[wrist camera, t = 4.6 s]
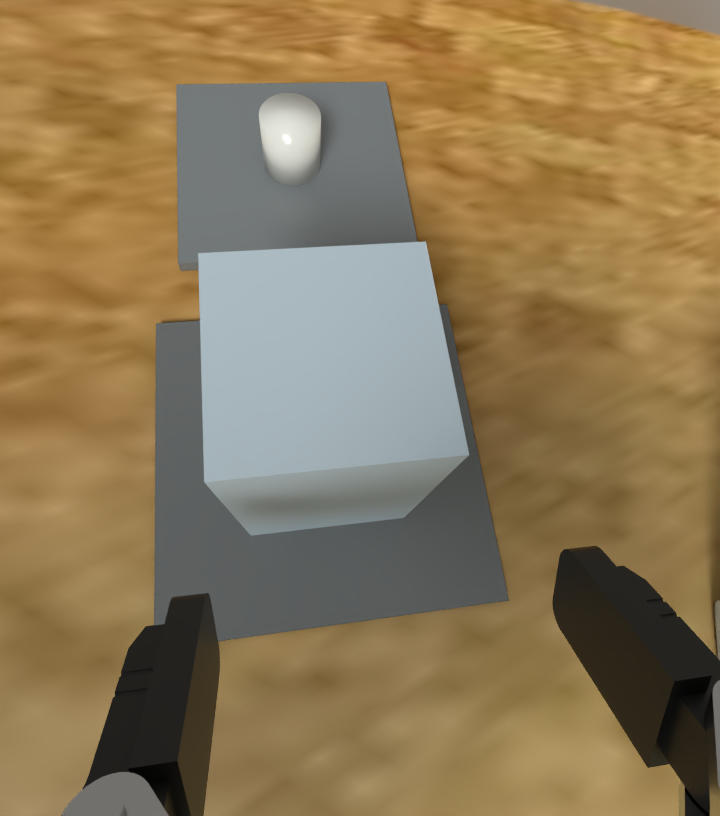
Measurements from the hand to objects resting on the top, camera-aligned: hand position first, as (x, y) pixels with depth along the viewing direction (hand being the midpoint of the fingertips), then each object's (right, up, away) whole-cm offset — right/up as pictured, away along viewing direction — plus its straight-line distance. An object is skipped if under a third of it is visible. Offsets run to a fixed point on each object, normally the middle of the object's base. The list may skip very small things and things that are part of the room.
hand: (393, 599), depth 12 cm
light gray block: (-2, +2, +11) cm, 12 cm away
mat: (-3, +2, +12) cm, 12 cm away
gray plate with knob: (-4, +17, +17) cm, 25 cm away
